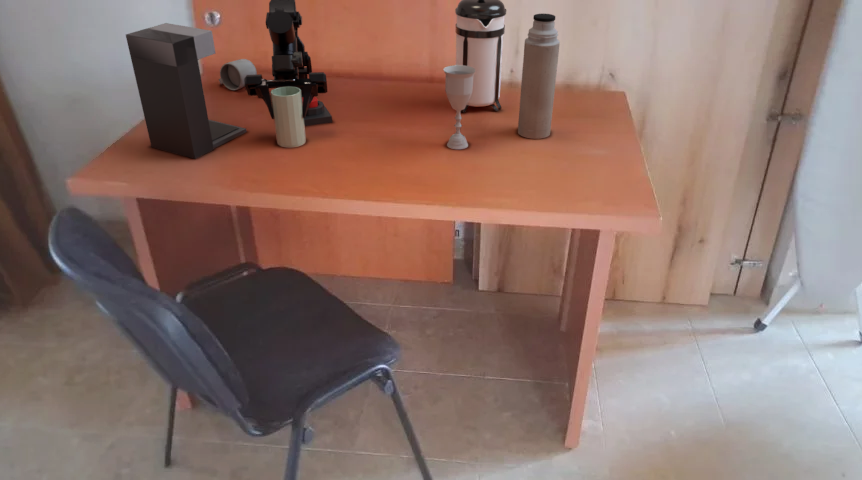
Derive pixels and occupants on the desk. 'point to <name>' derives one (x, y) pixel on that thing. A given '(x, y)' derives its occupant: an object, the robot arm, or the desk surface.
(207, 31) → the coffee maker
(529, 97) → the thermos bottle
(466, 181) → the desk surface
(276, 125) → the cup
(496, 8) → the coffee press
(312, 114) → the button pad
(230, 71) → the ceramic mug
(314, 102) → the button
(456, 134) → the chalice
